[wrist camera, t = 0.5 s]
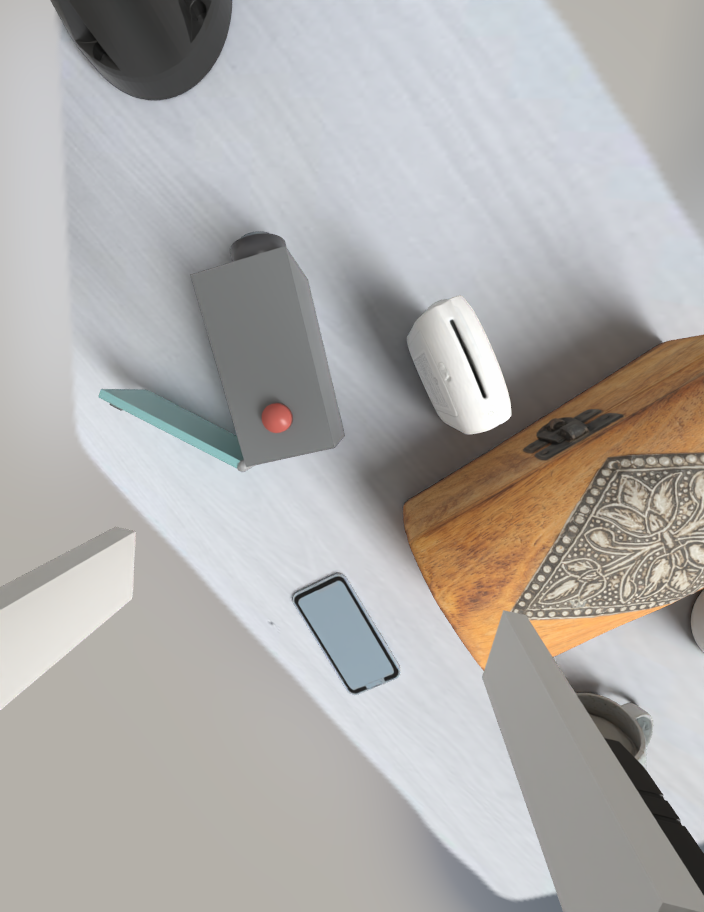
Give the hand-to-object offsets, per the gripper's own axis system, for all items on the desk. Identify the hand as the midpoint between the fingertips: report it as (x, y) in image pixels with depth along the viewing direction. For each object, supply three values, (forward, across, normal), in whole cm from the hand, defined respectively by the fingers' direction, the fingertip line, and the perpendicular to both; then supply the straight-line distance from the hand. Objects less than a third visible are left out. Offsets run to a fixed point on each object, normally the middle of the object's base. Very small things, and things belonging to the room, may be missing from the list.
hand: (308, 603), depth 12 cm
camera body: (+25, -9, +9) cm, 28 cm away
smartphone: (+26, +3, -22) cm, 34 cm away
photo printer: (+26, +7, +10) cm, 28 cm away
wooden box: (+26, +21, +1) cm, 33 cm away
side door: (+24, -17, 0) cm, 30 cm away
